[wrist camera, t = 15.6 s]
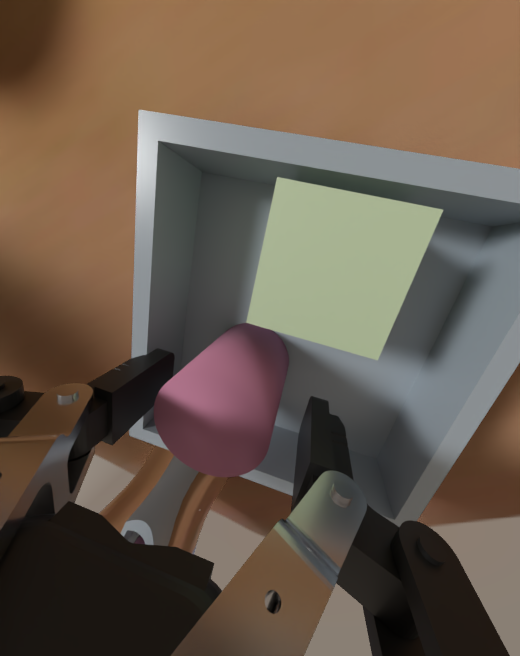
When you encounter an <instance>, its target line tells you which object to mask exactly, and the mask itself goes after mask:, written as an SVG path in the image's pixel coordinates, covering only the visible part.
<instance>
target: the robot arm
mask: <svg viewBox="0 0 520 656" xmlns="http://www.w3.org/2000/svg"><path fill="white" fill-rule="evenodd" d="M174 360H175V356H174V353H172V352H169V351H166V350H162V349H159V348H157V349H155V350H153V351H152V352H150V353H149V354H147V355H142V356H138V357H134V358H131V359H130V360H128V361H126V362H124V363H123V364H122V365H119V366H118V367H116V368H115V369H112V370H111V371H109V372H107V373H105V374H104V375H102V376H100V377H98V378H97V379H95V380H93V381H91V382H90V383H88V384H82V383H68V384H63V385H59V386H56V387H54V388H52V389H50V390H48V391H47V392H45V393H39V392H27V391H24V387H23V382H22V380H21V379H20V378H17V377H14V376H0V656H304V655H305V653H306V650H307V648H308V646H309V644H310V641H311V639H312V637H313V634H314V632H315V630H316V628H317V625H318V623H319V621H320V618H321V616H322V614H323V612H324V609H325V607H326V605H327V603H328V600H329V598H330V596H331V593H332V591H333V589H334V587H335V584H336V583H337V584H338V585H340V587H342V588H343V589H344V590H345V591H347V592H348V593H349V594H350V595H351V596H352V597H353V598H355V599H356V600H357V601H358V602H359V603H361V604H362V605H363V610H364V615H365V621H366V625H367V631H368V636H369V641H370V646H371V651H372V656H510V655H509V654H508V652H507V650H506V648H505V646H504V644H503V642H502V641H501V639H500V637H499V635H498V633H497V631H496V629H495V627H494V625H493V623H492V622H491V620H490V618H489V616H488V614H487V612H486V610H485V609H484V607H483V605H482V603H481V601H480V599H479V597H478V595H477V593H476V592H475V590H474V588H473V586H472V584H471V582H470V580H469V578H468V576H467V575H466V573H465V571H464V569H463V567H462V566H461V563H460V561H459V559H458V558H457V556H456V554H455V553H454V552H453V550H452V549H451V548H450V546H449V545H448V544H447V543H446V541H445V540H443V538H442V537H441V536H439V535H438V534H437V533H436V532H435V531H433V530H432V529H431V528H429V527H428V526H426V525H424V524H422V523H420V522H417V521H412V520H408V521H405V522H403V523H402V524H401V526H400V527H398V526H397V525H395V524H394V523H392V522H391V521H389V520H388V519H386V518H385V517H383V516H382V515H380V514H379V513H377V512H376V511H375V510H373V509H372V508H371V507H370V506H369V505H368V504H367V501H366V498H365V495H364V493H363V491H362V490H361V488H360V487H359V486H358V484H357V483H356V482H355V481H354V479H353V473H352V467H351V461H350V455H349V449H348V447H347V446H348V443H347V438H346V431H345V426H344V425H343V423H342V421H341V420H340V418H339V417H338V416H336V415H332V414H330V412H329V402H328V401H327V400H324V399H321V398H318V397H314V396H311V397H310V399H309V402H308V405H307V408H306V411H305V414H304V417H303V420H302V423H301V426H300V430H299V435H298V443H297V454H296V465H295V475H294V486H293V496H292V507H291V514H290V516H289V517H288V518H287V519H286V520H284V519H281V520H280V521H278V522H277V524H276V525H275V526H274V527H273V528H272V530H271V531H270V532H269V533H268V535H267V536H266V537H265V538H264V540H263V541H262V542H261V543H260V545H259V546H258V547H257V548H256V550H255V551H254V552H253V553H252V555H251V556H250V557H249V558H248V559H247V561H246V562H245V563H244V564H243V566H242V567H241V568H240V570H239V571H238V572H237V573H236V574H235V576H234V577H233V578H232V579H231V581H230V582H229V583H228V585H227V586H226V587H225V588H224V590H223V591H222V590H221V589H220V588H219V587H218V585H217V584H216V583H214V582H213V581H212V580H211V575H212V570H213V566H214V563H213V562H210V561H208V560H206V559H203V558H201V557H199V556H196V555H194V554H192V553H189V552H187V551H185V550H182V549H180V548H178V547H172V546H160V545H147V544H135V543H131V542H129V541H128V540H126V539H125V538H124V537H123V536H122V535H121V534H120V533H119V532H118V531H117V530H116V529H115V528H114V527H113V526H112V525H111V524H110V523H109V522H108V521H107V520H106V519H105V518H104V517H103V516H102V515H101V514H98V513H96V512H94V511H91V510H89V509H87V508H84V507H82V506H79V505H77V504H75V500H76V498H77V495H78V493H79V490H80V488H81V485H82V483H83V480H84V478H85V476H86V473H87V470H88V468H89V466H90V463H91V461H92V458H93V456H94V453H95V446H96V445H97V444H98V443H99V442H100V441H103V442H105V443H108V444H111V445H113V444H114V443H115V442H116V441H117V440H118V439H120V438H121V437H122V436H123V435H124V434H125V433H126V432H127V431H128V430H129V429H130V428H131V427H132V426H133V425H134V424H135V423H136V422H137V421H138V420H140V419H141V418H142V417H143V416H144V415H145V414H146V413H147V412H148V411H149V410H150V409H151V408H152V407H153V406H154V403H155V400H156V397H157V395H158V393H159V391H160V389H161V388H162V387H163V386H164V385H165V384H166V383H167V382H168V381H169V380H170V379H171V378H172V377H173V370H174Z"/></svg>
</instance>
